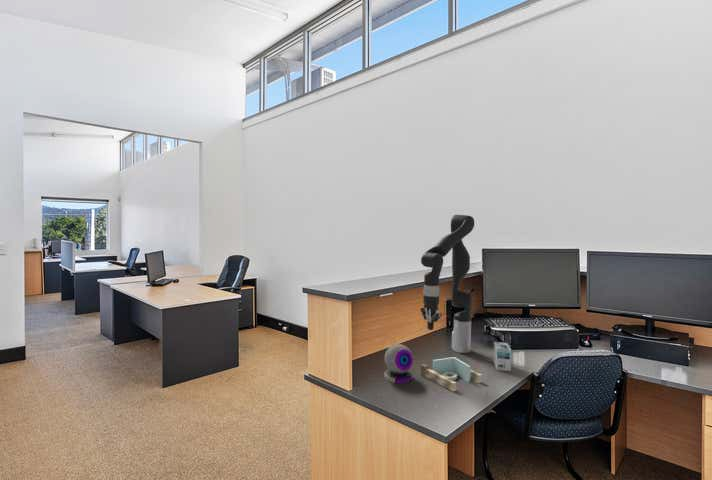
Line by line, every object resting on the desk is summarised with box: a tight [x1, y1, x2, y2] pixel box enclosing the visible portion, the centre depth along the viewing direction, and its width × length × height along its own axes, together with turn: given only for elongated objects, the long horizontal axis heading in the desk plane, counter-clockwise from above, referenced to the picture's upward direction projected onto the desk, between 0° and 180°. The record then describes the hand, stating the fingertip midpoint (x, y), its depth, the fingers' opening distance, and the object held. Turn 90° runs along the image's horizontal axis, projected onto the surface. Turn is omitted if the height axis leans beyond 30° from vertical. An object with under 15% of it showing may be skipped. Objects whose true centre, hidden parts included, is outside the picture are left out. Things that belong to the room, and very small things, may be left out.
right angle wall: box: [432, 356, 472, 383], centre depth 170 cm, size 12×12×8 cm
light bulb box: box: [493, 341, 512, 372], centre depth 184 cm, size 11×7×11 cm, turn 168°
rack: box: [420, 363, 483, 392], centre depth 170 cm, size 20×18×4 cm
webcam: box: [383, 343, 414, 384], centre depth 170 cm, size 13×13×15 cm
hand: (430, 329), depth 181 cm, fingers closed
